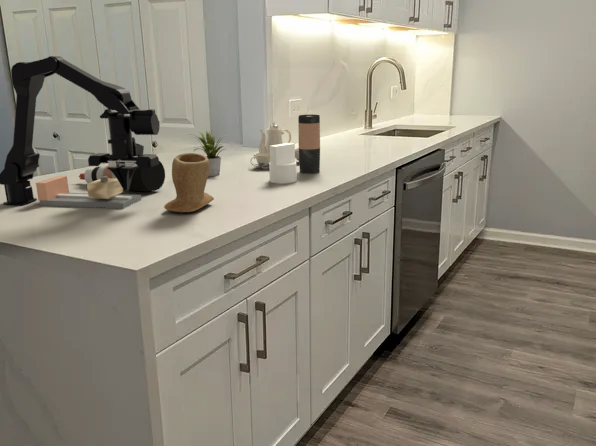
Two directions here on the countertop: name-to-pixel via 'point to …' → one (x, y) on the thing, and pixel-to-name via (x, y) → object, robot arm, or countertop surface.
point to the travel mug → (309, 143)
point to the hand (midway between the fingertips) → (126, 190)
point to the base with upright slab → (282, 163)
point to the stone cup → (189, 183)
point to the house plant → (211, 153)
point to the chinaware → (273, 139)
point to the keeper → (104, 188)
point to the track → (77, 196)
